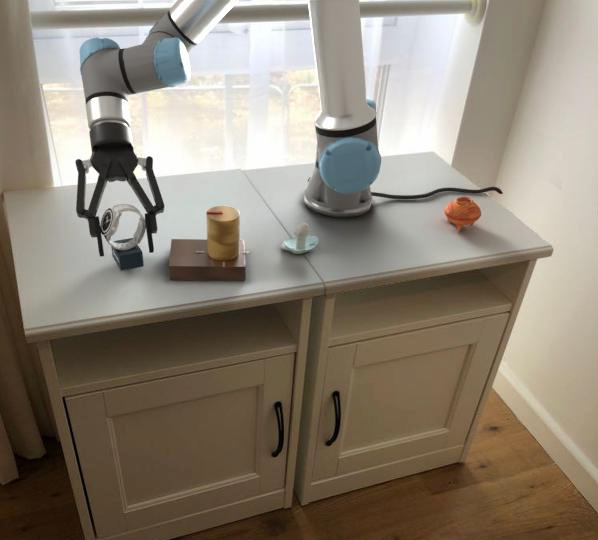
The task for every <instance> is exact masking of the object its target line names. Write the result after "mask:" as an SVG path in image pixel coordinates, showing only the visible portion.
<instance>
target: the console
mask: <svg viewBox="0 0 598 540" xmlns="http://www.w3.org/2000/svg"><path fill="white" fill-rule="evenodd" d="M246 254H251V251H246V250H245V240H244V239H240V244H239V255H238V256H237V257H236V258H234V259H232V260H226V261H222V260H216V259H213V258H211V257H210V256H209V255H208V248H207V239H203V238H202V239H201V238H199V239H198V238H197V239H196V238H195V239H193V238H171V239H170V250H169V258H168V259H169V260H168V261H169V262H168V276H169V281H238V282H239V281H243V282H245V281H246V270H247V269H246Z"/></svg>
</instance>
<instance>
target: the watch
mask: <svg viewBox="0 0 598 540" xmlns="http://www.w3.org/2000/svg"><path fill="white" fill-rule="evenodd" d="M124 212H133V213H135V214H137V215H139V220H138V223H137V227H136V229H135V232H134V233H133V236H132V237H130V238H122V239H117V240H111V237H112V236H113V235H114V234H115V233H116V232H117V230H118V228H119V224H120V218H121V216H122V213H124ZM102 214H103V215H102V217H101V221H100V229H101V236H102V235H103V237H104V239H105V240H106V242H107V244H108V245H109V246H110V247H111V253H112V258H113V260H114V261H115V264H116V265H117V266H118V268H119V270H120V271H121V272H122V271H128V270H132V269H137V268H142V267H144V255H143V251H142V249H141V248H140V246H139V244H140V243H141V242H142V240H143V238H144V236H145V233H146V223H145V216H143V214H142V212H141V211H140V210H139V209H138V208H137V207H135V206H134V205H133V204H128V203H120V204H115V205H113V206H111V207H108V208H107V209H106V210H105V211H104V213H102Z"/></svg>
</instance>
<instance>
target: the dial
mask: <svg viewBox="0 0 598 540" xmlns="http://www.w3.org/2000/svg"><path fill="white" fill-rule="evenodd" d="M240 215H241V214H240V211H239V210H238V209H237V208H235V207H232V206H228V205H217V206H212V207H210V208H209V209H208V210H206V240H207V248H208V255H209V256H210V257H211V258H213V259H216V260H222V261H226V260H232V259H234V258H236V257H237V256H238V255H239V244H240V240H241V239H240V233H241V231H240V229H241V228H240V226H241V224H240V223H241V221H240V220H241V219H240V218H241V217H240Z"/></svg>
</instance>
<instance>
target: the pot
mask: <svg viewBox="0 0 598 540" xmlns="http://www.w3.org/2000/svg"><path fill="white" fill-rule="evenodd" d="M443 212H444V215H445V216H446V218H447V221H448V222H449V223H452V224H455V225H456V231H457V232H459V233H460V232H461V230H462V228H463V226H473V225H474V224H475V223H476V222H477V221H478V220H479V219H480V218H481V217H482V211H481V208H480V206H479V205H478V204H477V203H476V202H475V201H474V199H472V198H471V197H468V196H459V197H457V198H456V199H454V200H453V201H450V202H449V203H448V204H447V205H446V206H445V207H444V210H443Z"/></svg>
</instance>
